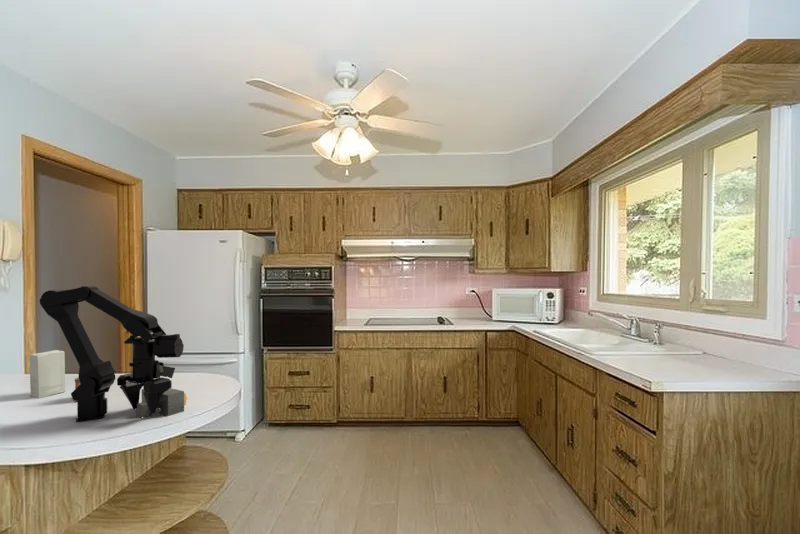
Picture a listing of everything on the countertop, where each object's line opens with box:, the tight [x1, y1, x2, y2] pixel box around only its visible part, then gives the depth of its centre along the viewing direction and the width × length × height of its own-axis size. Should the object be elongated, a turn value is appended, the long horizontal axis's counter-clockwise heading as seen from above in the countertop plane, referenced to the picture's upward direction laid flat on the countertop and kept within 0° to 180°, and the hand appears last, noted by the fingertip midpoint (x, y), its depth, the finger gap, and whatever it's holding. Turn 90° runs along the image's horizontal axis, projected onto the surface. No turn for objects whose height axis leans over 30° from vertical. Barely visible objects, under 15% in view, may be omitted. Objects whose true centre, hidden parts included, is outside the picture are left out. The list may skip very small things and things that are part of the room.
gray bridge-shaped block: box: [141, 388, 185, 417], centre depth 128 cm, size 5×14×6 cm, turn 60°
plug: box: [136, 392, 188, 418], centre depth 129 cm, size 14×3×4 cm, turn 150°
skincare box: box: [29, 349, 66, 399], centre depth 148 cm, size 8×6×15 cm
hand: (144, 411), depth 124 cm, fingers open, 9 cm apart
